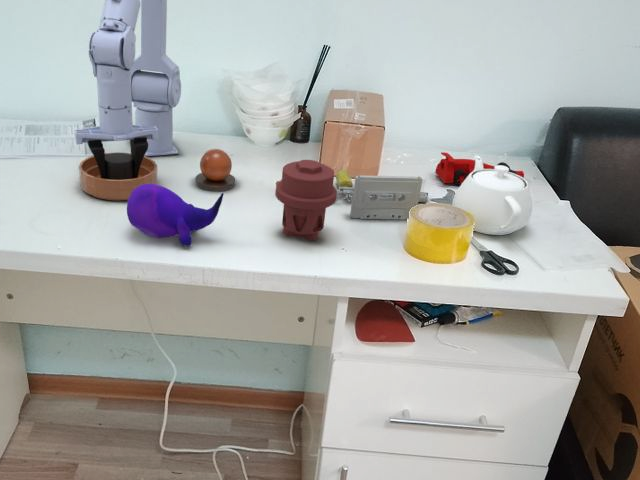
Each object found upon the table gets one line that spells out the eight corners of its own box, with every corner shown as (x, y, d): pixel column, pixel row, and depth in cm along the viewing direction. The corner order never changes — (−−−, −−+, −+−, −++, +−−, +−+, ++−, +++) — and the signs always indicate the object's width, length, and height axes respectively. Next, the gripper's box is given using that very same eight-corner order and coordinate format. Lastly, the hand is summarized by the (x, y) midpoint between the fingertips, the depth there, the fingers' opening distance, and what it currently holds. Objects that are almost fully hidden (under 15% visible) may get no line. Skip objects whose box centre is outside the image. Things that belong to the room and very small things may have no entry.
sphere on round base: (190, 177, 139) (191, 144, 136) (228, 174, 142) (229, 141, 138) (201, 192, 134) (202, 158, 130) (240, 189, 136) (242, 155, 132)
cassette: (350, 219, 128) (357, 178, 124) (348, 214, 129) (354, 174, 125) (415, 220, 129) (424, 179, 125) (413, 215, 131) (421, 175, 127)
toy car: (526, 186, 147) (533, 162, 144) (444, 186, 144) (449, 161, 141) (513, 174, 151) (520, 151, 148) (434, 174, 148) (439, 151, 146)
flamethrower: (273, 178, 140) (276, 201, 132) (274, 165, 139) (277, 187, 131) (419, 187, 143) (430, 210, 135) (422, 174, 141) (434, 197, 133)
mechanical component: (300, 216, 128) (343, 236, 122) (260, 231, 122) (303, 253, 116) (307, 148, 121) (353, 166, 115) (265, 160, 115) (311, 180, 109)
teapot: (546, 251, 122) (566, 191, 116) (469, 250, 121) (484, 189, 115) (499, 198, 140) (514, 144, 134) (431, 197, 139) (443, 142, 132)
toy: (219, 235, 122) (133, 216, 122) (228, 182, 116) (137, 163, 116) (210, 259, 115) (119, 239, 115) (219, 204, 109) (122, 183, 109)
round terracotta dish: (75, 175, 137) (73, 154, 134) (148, 170, 141) (147, 150, 139) (87, 205, 126) (85, 183, 124) (165, 198, 130) (165, 177, 128)
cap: (103, 179, 134) (101, 153, 132) (130, 177, 136) (129, 151, 133) (108, 190, 130) (106, 163, 128) (136, 188, 132) (135, 161, 129)
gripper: (76, 113, 120) (82, 190, 127) (161, 109, 124) (162, 184, 132) (70, 101, 125) (76, 175, 133) (152, 97, 129) (153, 170, 137)
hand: (119, 179), depth 133 cm, fingers closed on cap, 5 cm apart
